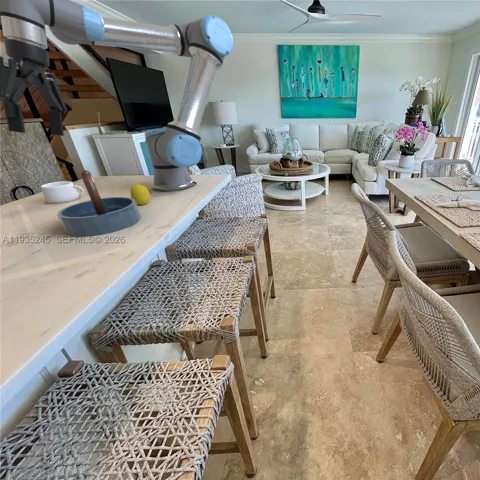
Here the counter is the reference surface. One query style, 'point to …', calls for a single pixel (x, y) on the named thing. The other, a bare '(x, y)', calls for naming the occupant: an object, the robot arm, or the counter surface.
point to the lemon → (140, 194)
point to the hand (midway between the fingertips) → (39, 133)
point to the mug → (60, 192)
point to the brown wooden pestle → (93, 192)
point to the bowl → (99, 217)
